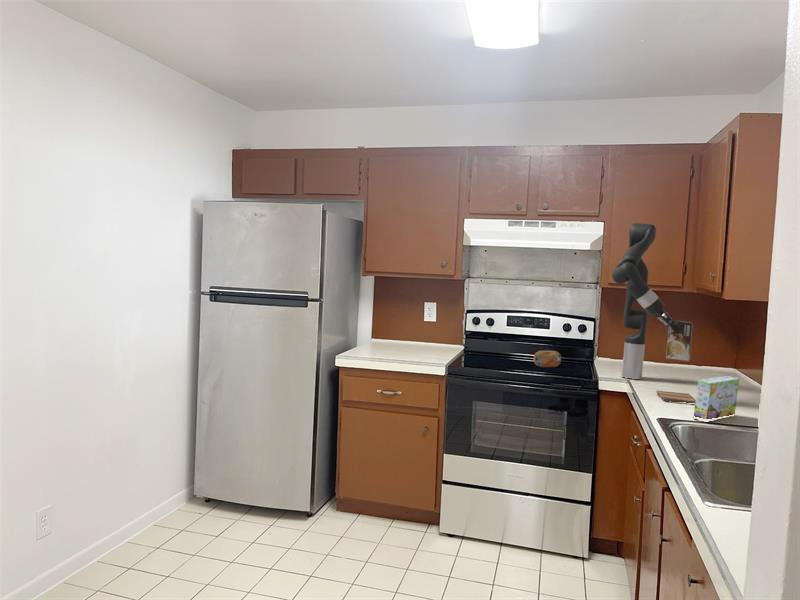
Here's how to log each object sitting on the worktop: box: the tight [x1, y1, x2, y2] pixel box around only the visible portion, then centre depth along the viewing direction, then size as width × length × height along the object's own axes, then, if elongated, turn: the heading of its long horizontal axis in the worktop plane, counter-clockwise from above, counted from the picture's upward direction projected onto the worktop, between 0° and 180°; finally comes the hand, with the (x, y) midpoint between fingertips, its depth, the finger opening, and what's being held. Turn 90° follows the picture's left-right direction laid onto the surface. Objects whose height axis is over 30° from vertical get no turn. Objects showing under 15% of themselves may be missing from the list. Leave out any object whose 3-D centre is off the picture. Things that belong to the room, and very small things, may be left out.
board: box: [655, 390, 696, 403], centre depth 251 cm, size 14×13×2 cm
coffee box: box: [665, 319, 693, 362], centre depth 253 cm, size 9×6×16 cm
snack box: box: [693, 375, 740, 419], centre depth 223 cm, size 21×6×15 cm, turn 126°
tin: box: [533, 350, 562, 368], centre depth 309 cm, size 15×3×8 cm, turn 105°
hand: (676, 331), depth 254 cm, fingers closed on coffee box, 7 cm apart
